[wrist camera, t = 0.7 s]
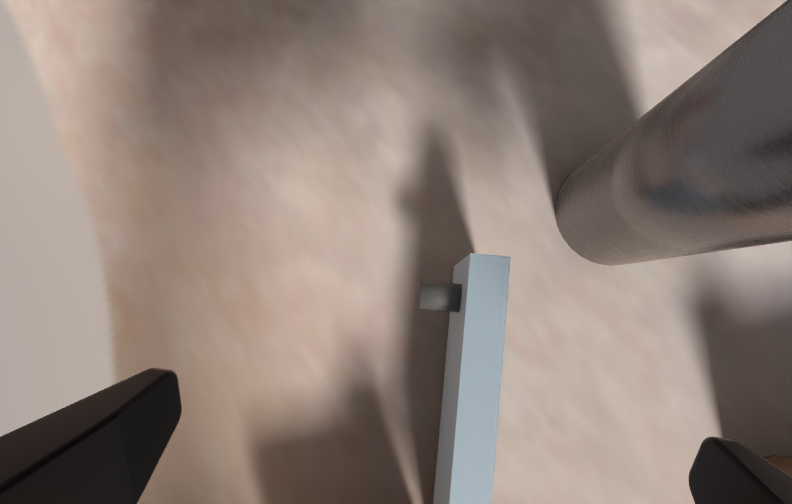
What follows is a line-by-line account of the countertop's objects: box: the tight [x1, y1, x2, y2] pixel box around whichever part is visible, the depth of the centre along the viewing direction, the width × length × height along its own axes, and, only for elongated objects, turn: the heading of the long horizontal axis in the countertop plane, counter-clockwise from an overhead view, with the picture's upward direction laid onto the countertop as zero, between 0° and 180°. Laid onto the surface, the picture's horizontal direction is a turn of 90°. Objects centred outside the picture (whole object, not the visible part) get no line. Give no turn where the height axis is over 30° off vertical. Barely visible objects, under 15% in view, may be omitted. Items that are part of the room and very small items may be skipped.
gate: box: [419, 253, 511, 504], centre depth 17 cm, size 12×3×7 cm, turn 174°
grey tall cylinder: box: [555, 0, 792, 265], centre depth 12 cm, size 5×5×17 cm
